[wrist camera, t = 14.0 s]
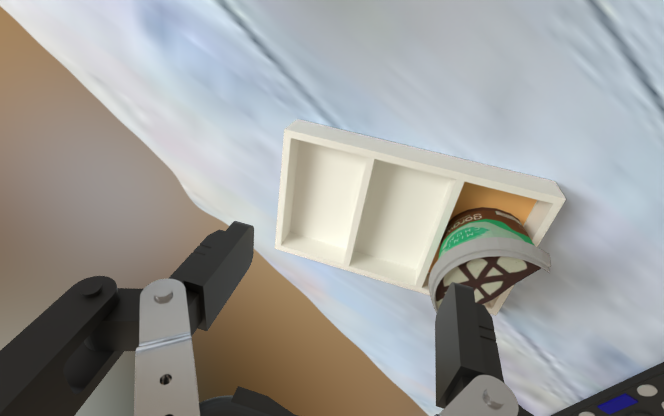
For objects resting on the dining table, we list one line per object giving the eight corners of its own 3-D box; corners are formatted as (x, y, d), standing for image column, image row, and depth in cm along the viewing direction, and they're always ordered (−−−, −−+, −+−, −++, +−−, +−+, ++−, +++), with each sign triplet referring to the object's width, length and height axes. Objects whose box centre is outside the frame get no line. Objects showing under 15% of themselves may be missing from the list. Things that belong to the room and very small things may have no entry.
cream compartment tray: (285, 233, 50) (274, 250, 46) (297, 118, 41) (284, 129, 37) (491, 294, 45) (495, 317, 42) (554, 181, 36) (566, 198, 33)
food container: (489, 175, 37) (503, 224, 29) (530, 210, 38) (556, 269, 29) (409, 241, 44) (401, 297, 35) (445, 270, 44) (446, 332, 36)
